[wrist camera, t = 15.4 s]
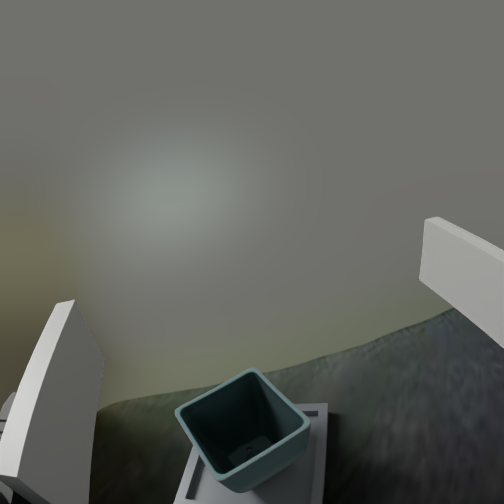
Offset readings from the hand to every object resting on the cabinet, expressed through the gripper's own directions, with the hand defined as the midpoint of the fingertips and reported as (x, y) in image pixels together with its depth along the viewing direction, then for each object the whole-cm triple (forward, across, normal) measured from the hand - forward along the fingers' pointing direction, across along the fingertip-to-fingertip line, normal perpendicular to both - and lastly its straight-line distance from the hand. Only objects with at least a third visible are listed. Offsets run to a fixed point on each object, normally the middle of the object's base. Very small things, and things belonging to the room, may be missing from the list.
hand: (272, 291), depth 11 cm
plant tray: (+8, -2, -26) cm, 27 cm away
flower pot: (+7, -2, -25) cm, 26 cm away
